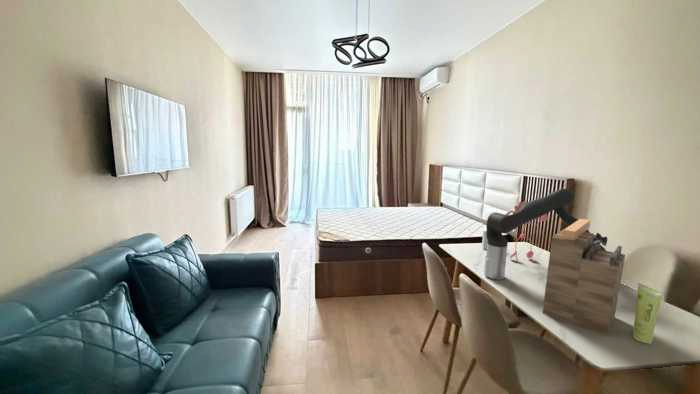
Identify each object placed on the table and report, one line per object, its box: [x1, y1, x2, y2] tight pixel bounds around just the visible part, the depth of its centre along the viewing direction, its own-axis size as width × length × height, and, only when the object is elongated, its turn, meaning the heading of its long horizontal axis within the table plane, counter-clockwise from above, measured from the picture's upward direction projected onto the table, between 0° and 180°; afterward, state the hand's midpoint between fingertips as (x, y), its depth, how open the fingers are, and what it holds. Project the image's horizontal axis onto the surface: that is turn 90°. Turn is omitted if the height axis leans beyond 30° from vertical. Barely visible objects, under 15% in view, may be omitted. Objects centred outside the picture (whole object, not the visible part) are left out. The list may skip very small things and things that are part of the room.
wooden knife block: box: [542, 228, 626, 336], centre depth 117 cm, size 18×20×32 cm
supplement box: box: [481, 227, 488, 250], centre depth 197 cm, size 7×7×13 cm
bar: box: [563, 218, 591, 241], centre depth 121 cm, size 26×4×4 cm, turn 132°
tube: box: [632, 282, 664, 344], centre depth 104 cm, size 6×5×20 cm
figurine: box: [504, 201, 549, 263], centre depth 178 cm, size 15×26×35 cm, turn 94°
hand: (585, 232), depth 134 cm, fingers open, 8 cm apart
